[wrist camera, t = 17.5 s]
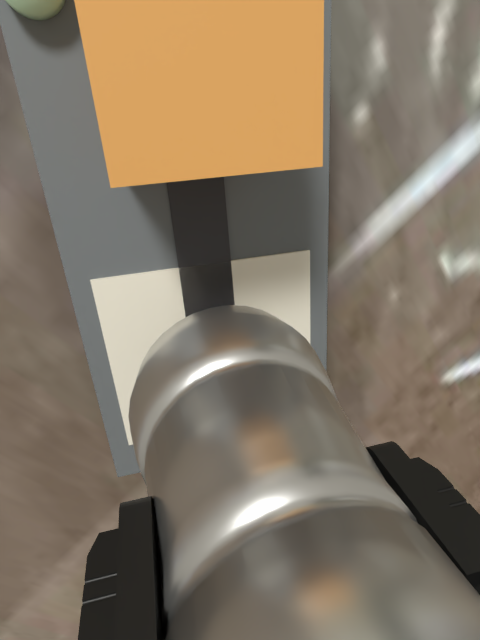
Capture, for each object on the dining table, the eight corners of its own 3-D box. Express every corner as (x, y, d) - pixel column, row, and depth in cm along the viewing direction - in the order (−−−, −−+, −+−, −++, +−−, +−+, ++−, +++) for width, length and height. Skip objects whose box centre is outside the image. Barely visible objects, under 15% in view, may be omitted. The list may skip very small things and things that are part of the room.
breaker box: (291, 379, 25) (332, 442, 20) (121, 411, 23) (117, 490, 18) (280, -44, 17) (344, -124, 12) (14, -42, 15) (-49, -135, 10)
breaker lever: (265, 157, 15) (322, 166, 10) (118, 171, 14) (110, 188, 9) (259, 18, 13) (324, -43, 8) (91, 24, 12) (66, -40, 8)
